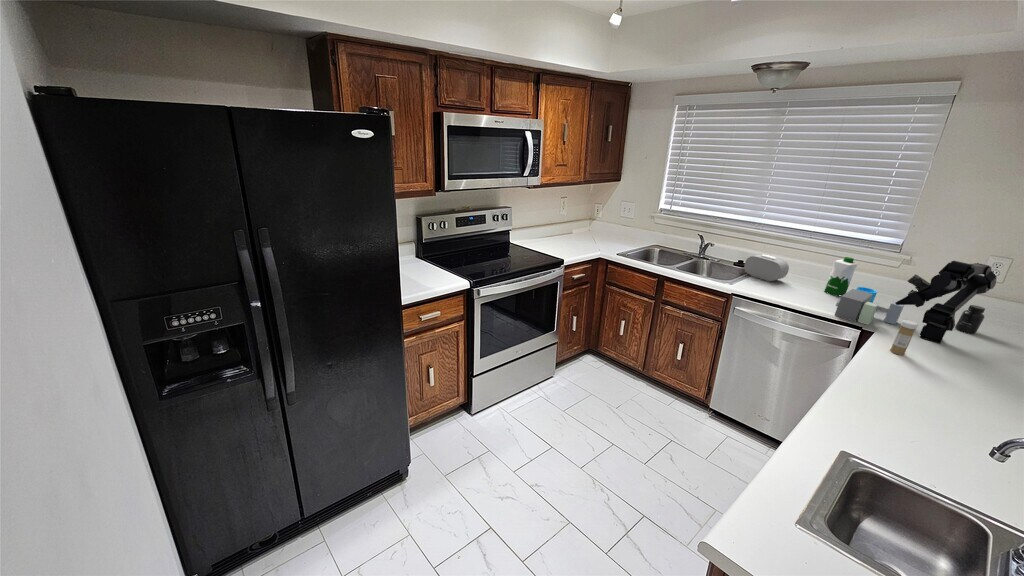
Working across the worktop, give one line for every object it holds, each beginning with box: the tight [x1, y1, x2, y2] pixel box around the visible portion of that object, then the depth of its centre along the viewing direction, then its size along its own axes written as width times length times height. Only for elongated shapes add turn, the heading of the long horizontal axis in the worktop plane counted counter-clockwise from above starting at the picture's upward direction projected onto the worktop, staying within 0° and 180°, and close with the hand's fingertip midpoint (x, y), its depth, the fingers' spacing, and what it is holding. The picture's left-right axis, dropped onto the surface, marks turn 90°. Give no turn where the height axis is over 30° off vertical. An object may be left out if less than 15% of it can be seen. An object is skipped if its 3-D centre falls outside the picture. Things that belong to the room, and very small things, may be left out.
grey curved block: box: [834, 288, 873, 323], centre depth 197 cm, size 8×18×10 cm, turn 128°
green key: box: [835, 300, 879, 326], centre depth 192 cm, size 14×5×9 cm, turn 38°
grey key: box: [876, 301, 905, 325], centre depth 195 cm, size 16×5×9 cm, turn 38°
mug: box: [856, 286, 878, 303], centre depth 211 cm, size 12×8×8 cm
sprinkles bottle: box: [889, 319, 919, 356], centre depth 161 cm, size 5×5×14 cm
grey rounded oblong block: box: [743, 254, 790, 282], centre depth 242 cm, size 21×10×13 cm, turn 32°
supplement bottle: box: [954, 304, 986, 335], centre depth 184 cm, size 7×7×12 cm
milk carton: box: [823, 256, 858, 297], centre depth 222 cm, size 9×9×20 cm
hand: (895, 303), depth 180 cm, fingers closed
